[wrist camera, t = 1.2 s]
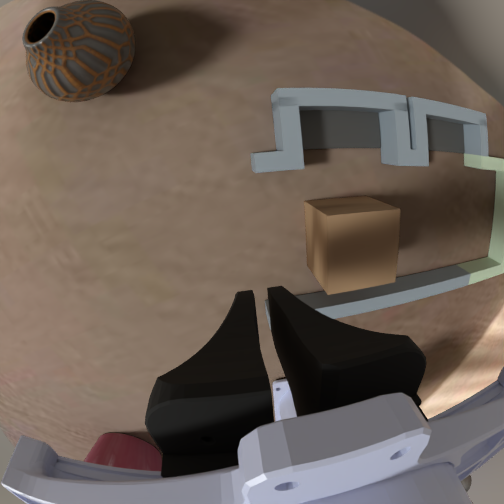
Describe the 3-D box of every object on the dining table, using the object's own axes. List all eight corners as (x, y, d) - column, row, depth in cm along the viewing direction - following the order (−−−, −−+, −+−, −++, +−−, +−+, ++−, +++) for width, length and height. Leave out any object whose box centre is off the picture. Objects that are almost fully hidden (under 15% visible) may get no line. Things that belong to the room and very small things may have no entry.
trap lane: (491, 264, 24) (504, 272, 22) (265, 313, 23) (270, 329, 21) (499, 122, 19) (515, 123, 16) (244, 97, 17) (247, 90, 15)
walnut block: (364, 256, 22) (395, 282, 17) (306, 264, 22) (327, 295, 17) (365, 195, 20) (400, 209, 16) (303, 200, 20) (327, 215, 16)
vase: (132, 11, 14) (91, -47, 6) (157, 78, 16) (114, 33, 8) (57, 56, 14) (-9, 28, 6) (76, 124, 16) (0, 118, 8)
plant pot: (124, 409, 26) (101, 505, 14) (201, 461, 31) (202, 540, 19) (65, 429, 27) (41, 498, 15) (134, 475, 32) (125, 537, 20)
